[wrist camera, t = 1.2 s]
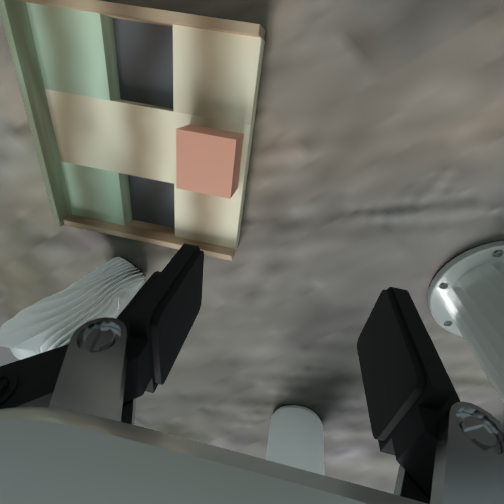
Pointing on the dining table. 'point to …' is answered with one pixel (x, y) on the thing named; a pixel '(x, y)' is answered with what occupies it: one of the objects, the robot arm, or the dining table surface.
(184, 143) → the block
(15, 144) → the dining table surface
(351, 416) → the dining table surface
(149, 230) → the box
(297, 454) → the alcohol
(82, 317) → the shell sculpture
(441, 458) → the robot arm
